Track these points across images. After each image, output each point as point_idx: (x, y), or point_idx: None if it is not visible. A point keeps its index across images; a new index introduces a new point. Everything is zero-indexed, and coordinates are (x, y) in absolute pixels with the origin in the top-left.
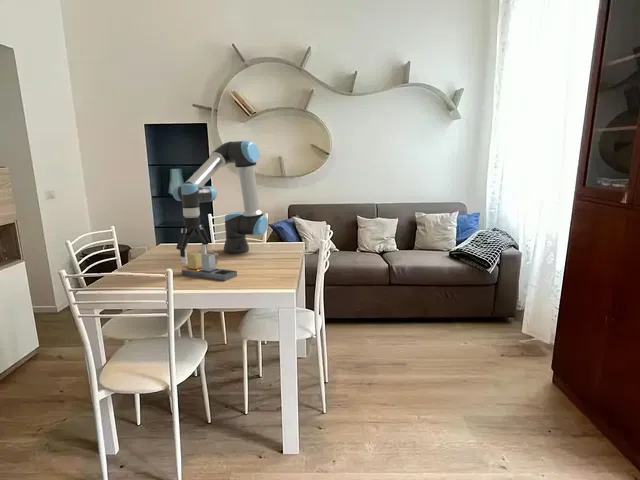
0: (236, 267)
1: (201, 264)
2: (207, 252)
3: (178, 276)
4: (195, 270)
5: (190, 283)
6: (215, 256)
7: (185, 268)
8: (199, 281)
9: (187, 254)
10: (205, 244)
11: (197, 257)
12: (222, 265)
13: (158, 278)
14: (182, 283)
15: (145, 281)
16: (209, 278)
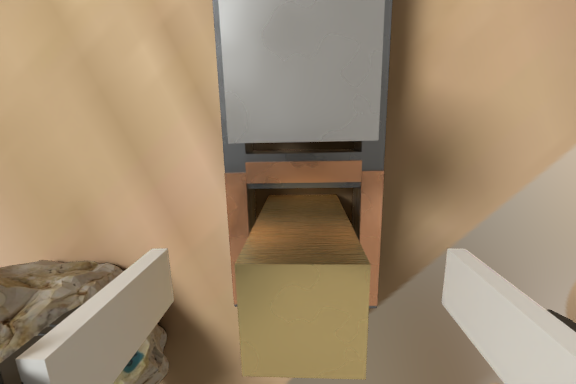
0: (21, 65)
1: (265, 214)
2: None
3: (406, 280)
4: (341, 205)
5: (536, 71)
6: (7, 280)
7: None
8: (467, 45)
9: (365, 374)
10: (6, 380)
11: (314, 244)
12: (45, 206)
13: None
14: (552, 128)
15: None
16: None
